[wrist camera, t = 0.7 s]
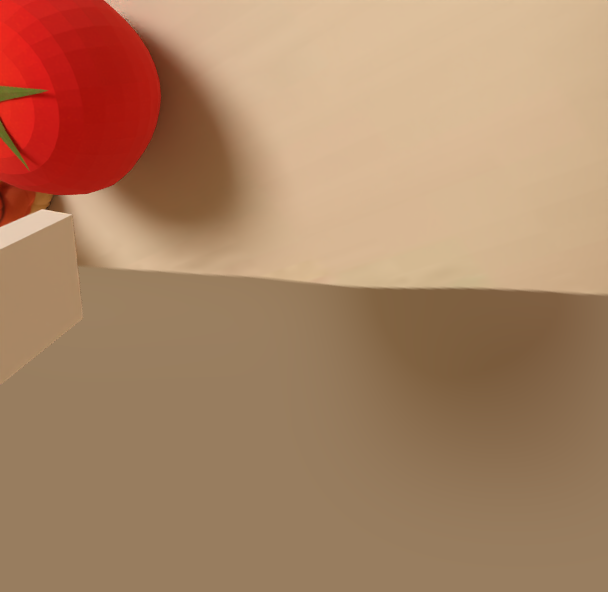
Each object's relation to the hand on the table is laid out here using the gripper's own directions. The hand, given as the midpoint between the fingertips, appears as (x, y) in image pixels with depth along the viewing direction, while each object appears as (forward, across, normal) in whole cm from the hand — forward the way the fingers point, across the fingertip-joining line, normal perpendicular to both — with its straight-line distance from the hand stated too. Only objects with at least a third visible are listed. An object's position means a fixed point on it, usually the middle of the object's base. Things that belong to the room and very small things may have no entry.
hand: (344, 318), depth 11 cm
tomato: (+26, -20, +1) cm, 33 cm away
